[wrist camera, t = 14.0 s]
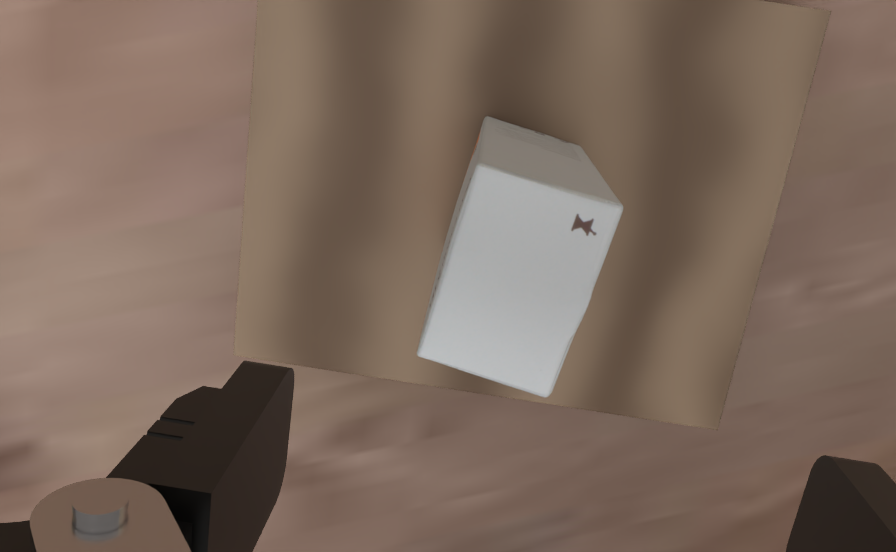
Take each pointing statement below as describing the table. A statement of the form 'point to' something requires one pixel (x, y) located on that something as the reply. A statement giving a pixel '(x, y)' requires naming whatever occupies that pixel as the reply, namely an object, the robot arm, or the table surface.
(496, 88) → the walnut stand
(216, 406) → the robot arm
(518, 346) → the skincare box
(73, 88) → the table surface
